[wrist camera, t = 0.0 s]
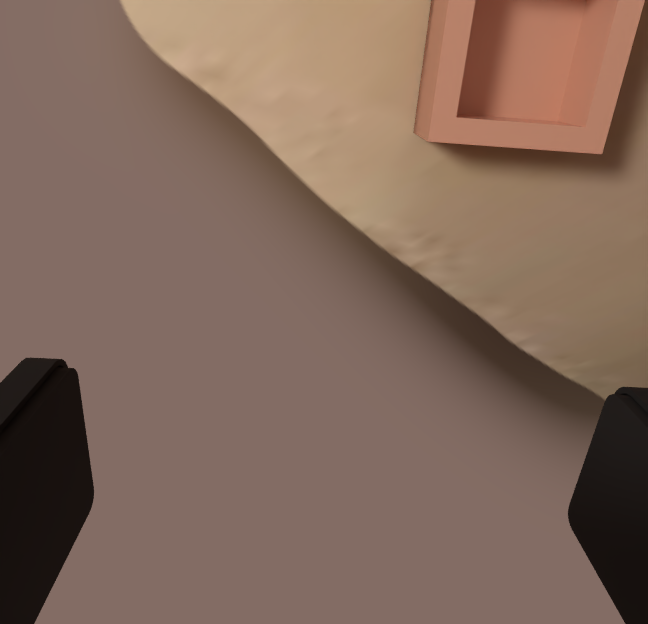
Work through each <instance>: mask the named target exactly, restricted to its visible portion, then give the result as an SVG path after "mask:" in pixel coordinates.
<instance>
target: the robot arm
mask: <svg viewBox="0 0 648 624" xmlns="http://www.w3.org/2000/svg"><path fill="white" fill-rule="evenodd" d="M93 498H94V486H93V480H92V472H91V465H90V458H89V450H88V443H87V436H86V429H85V422H84V415H83V408H82V400H81V393H80V386H79V379H78V374H77V371H76V370H75V369H74V368H68V366H67V364H66V362H65V361H64V360H62V359H46V358H25V359H24V360H23V361H21V362H20V363H19V364H18V365H17V366H16V367H15V368H14V370H13V371H11V373H10V374H9V375H8V376H7V377H6V378H5V379H4V380H3V381H2V382H1V383H0V624H34V623H35V621H36V619H37V617H38V615H39V613H40V611H41V609H42V607H43V605H44V603H45V601H46V598H47V597H48V595H49V593H50V591H51V588H52V587H53V584H54V583H55V581H56V579H57V577H58V575H59V572H60V570H61V569H62V566H63V564H64V562H65V560H66V558H67V556H68V555H69V552H70V551H71V548H72V546H73V544H74V542H75V540H76V538H77V536H78V534H79V532H80V530H81V528H82V526H83V524H84V522H85V520H86V518H87V516H88V514H89V512H90V510H91V507H92V503H93ZM568 518H569V523H570V526H571V528H572V530H573V532H574V534H575V536H576V537H577V539H578V541H579V543H580V544H581V546H582V548H583V550H584V551H585V553H586V555H587V557H588V558H589V560H590V562H591V564H592V565H593V567H594V569H595V570H596V573H597V574H598V576H599V578H600V580H601V581H602V583H603V585H604V586H605V588H606V590H607V592H608V594H609V595H610V597H611V599H612V601H613V603H614V604H615V606H616V608H617V610H618V611H619V613H620V615H621V617H622V618H623V620H624V622H625V623H626V624H648V388H637V387H622V388H619V389H618V390H617V391H616V392H615V394H612V395H609V396H608V397H607V399H606V401H605V403H604V406H603V409H602V412H601V415H600V418H599V420H598V423H597V426H596V429H595V432H594V435H593V438H592V441H591V444H590V447H589V449H588V452H587V455H586V458H585V461H584V464H583V467H582V470H581V473H580V476H579V479H578V482H577V484H576V488H575V490H574V493H573V496H572V499H571V502H570V505H569V509H568Z"/></svg>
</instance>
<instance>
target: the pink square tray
mask: <svg viewBox="0 0 648 624" xmlns="http://www.w3.org/2000/svg"><path fill="white" fill-rule="evenodd" d="M644 2H645V0H431V7H430V14H429V21H428V29H427V36H426V44H425V51H424V59H423V66H422V73H421V81H420V88H419V96H418V103H417V111H416V118H415V125H414V133H415V134H417V135H418V136H420V137H421V138H423V139H425V140H426V141H428V142H441V143H455V144H469V145H482V146H496V147H510V148H524V149H537V150H551V151H565V152H579V153H592V154H602V153H603V149H604V145H605V142H606V138H607V135H608V131H609V127H610V124H611V120H612V117H613V113H614V110H615V106H616V102H617V99H618V95H619V92H620V88H621V84H622V81H623V77H624V74H625V70H626V66H627V63H628V59H629V56H630V52H631V48H632V45H633V41H634V38H635V34H636V31H637V27H638V23H639V20H640V16H641V13H642V9H643V5H644Z"/></svg>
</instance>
